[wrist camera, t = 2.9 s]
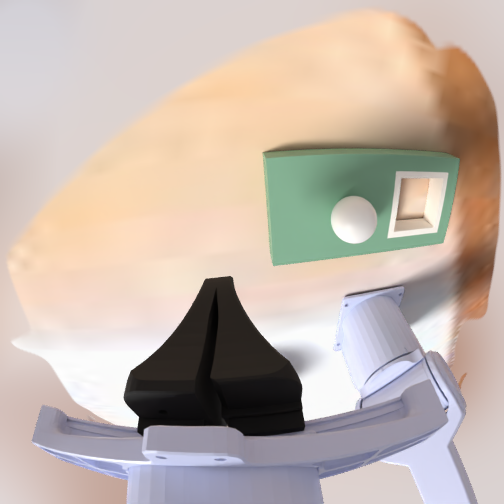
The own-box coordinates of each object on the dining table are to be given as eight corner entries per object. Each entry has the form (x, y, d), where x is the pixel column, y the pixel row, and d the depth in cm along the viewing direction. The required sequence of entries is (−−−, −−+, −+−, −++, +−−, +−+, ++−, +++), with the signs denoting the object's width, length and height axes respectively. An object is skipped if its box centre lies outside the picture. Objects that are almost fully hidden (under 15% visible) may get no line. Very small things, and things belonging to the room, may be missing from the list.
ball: (363, 227, 21) (381, 249, 19) (324, 231, 21) (338, 255, 18) (366, 188, 20) (388, 206, 17) (325, 190, 20) (342, 209, 17)
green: (433, 233, 25) (443, 243, 23) (270, 253, 25) (273, 266, 23) (446, 152, 20) (459, 158, 18) (262, 152, 20) (265, 158, 18)
